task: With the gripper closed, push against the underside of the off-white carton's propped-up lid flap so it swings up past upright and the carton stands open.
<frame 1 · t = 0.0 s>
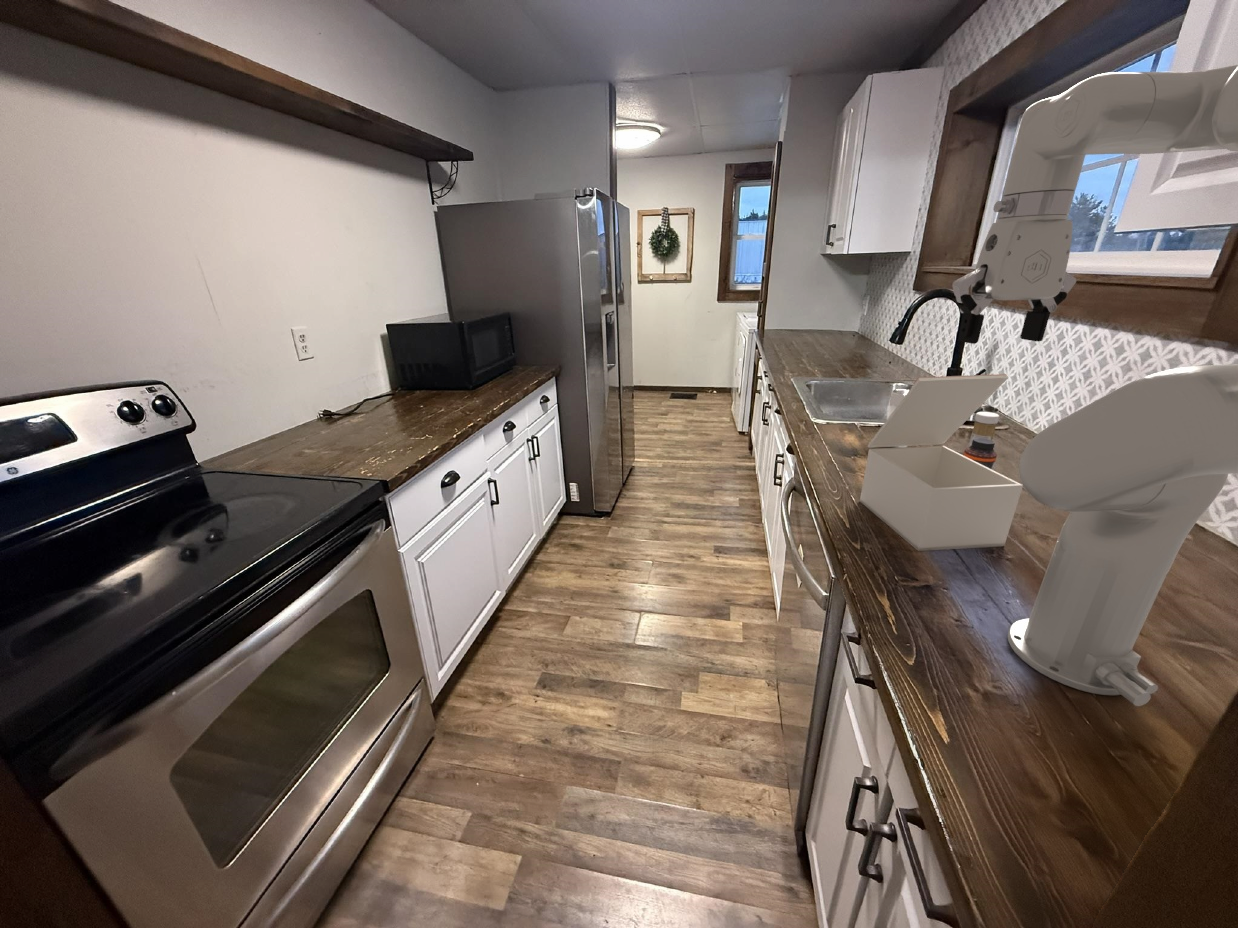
hand: (999, 341, 72), 37 cm above the worktop, tool pointing down, fingers open, 9 cm apart
supplement bottle: (970, 488, 111), on the worktop
sprinkles bottle: (973, 466, 123), on the worktop
carton: (925, 521, 97), on the worktop
beer glass: (895, 445, 138), on the worktop
lid flap: (931, 413, 94), point 21 cm above the worktop, hinge at 55.0°
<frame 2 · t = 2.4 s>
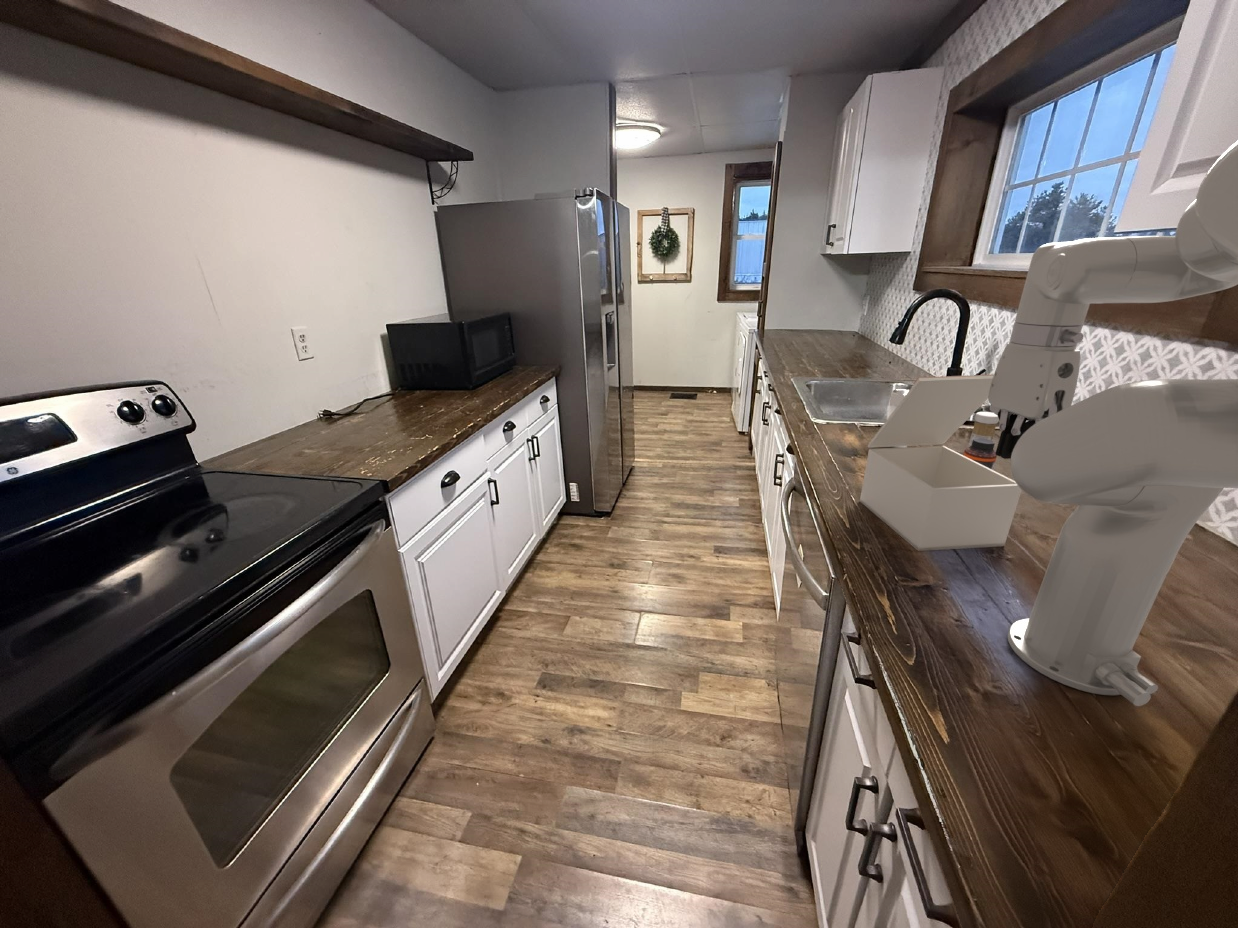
hand: (1008, 456, 77), 19 cm above the worktop, tool pointing down, fingers closed
nothing on the worktop moved.
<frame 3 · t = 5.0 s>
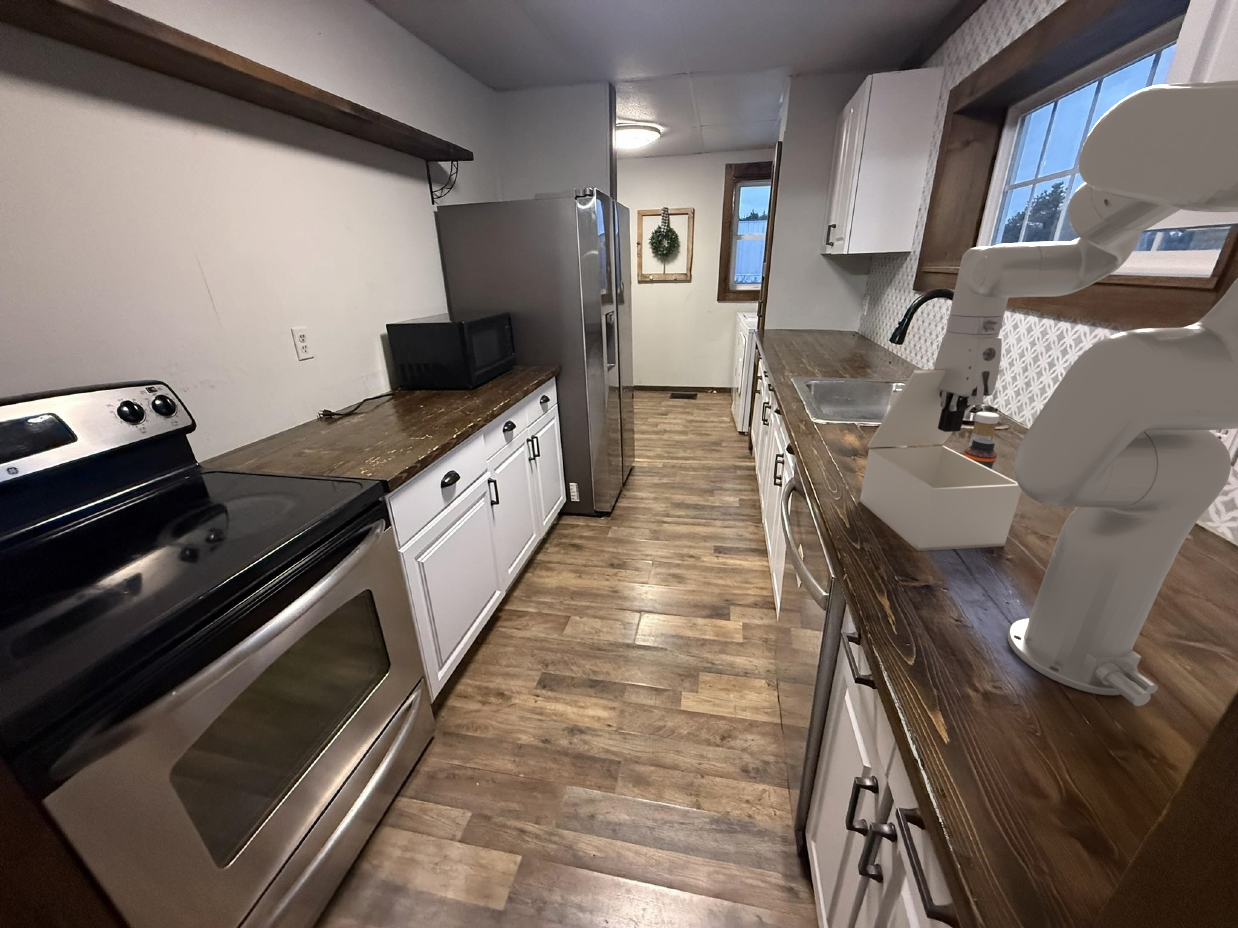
hand: (948, 430, 90), 19 cm above the worktop, tool pointing down, fingers closed
lid flap: (929, 410, 95), point 21 cm above the worktop, hinge at 60.6°, touching gripper
everything else where it was.
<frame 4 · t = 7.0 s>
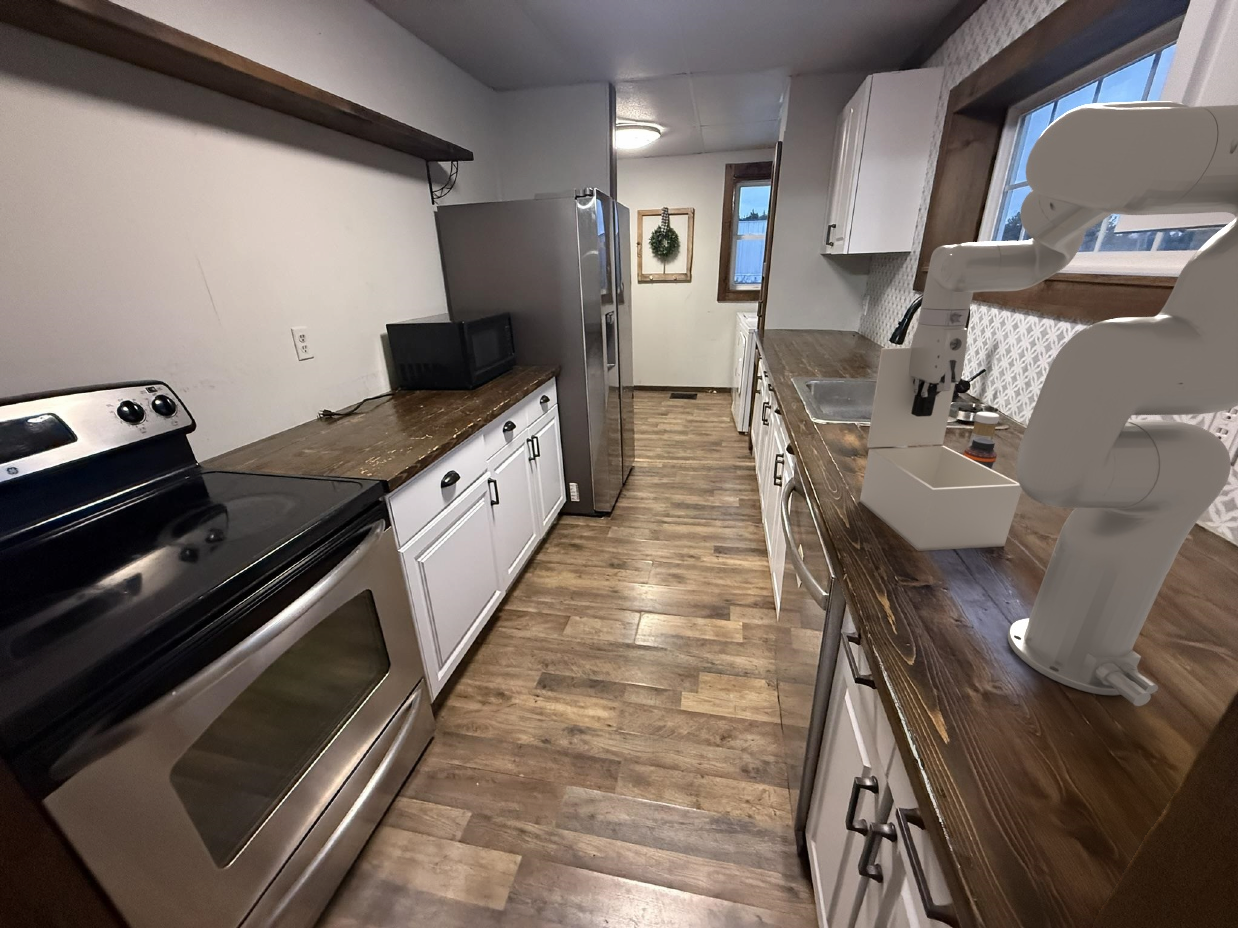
hand: (921, 415, 97), 20 cm above the worktop, tool pointing down, fingers closed
lid flap: (912, 397, 99), point 22 cm above the worktop, hinge at 92.7°, touching gripper
everything else where it was.
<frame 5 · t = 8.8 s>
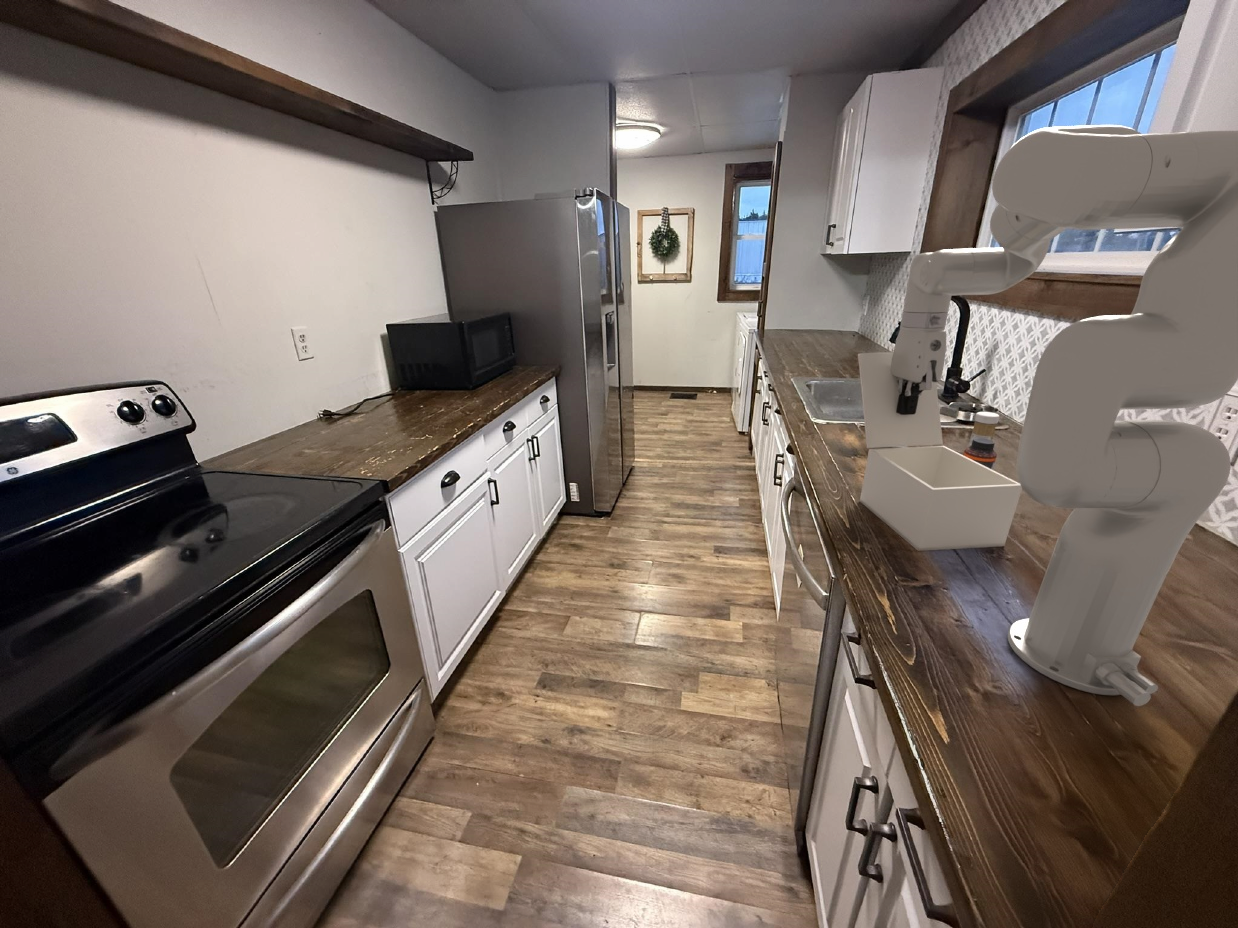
hand: (905, 413, 102), 19 cm above the worktop, tool pointing down, fingers closed
lid flap: (899, 399, 103), point 21 cm above the worktop, hinge at 117.0°, touching gripper
everything else where it was.
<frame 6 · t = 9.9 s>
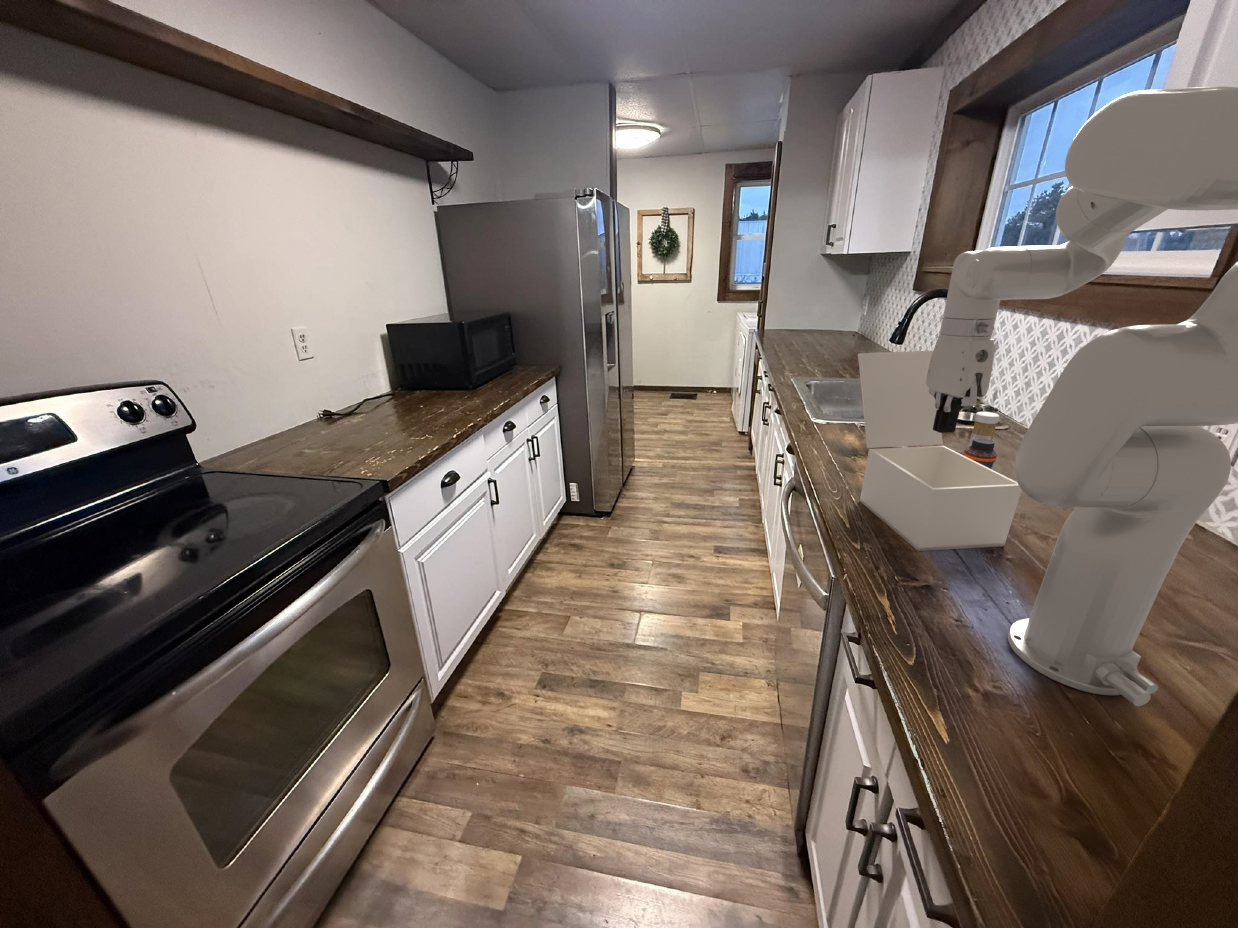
hand: (943, 431, 91), 19 cm above the worktop, tool pointing down, fingers closed
lid flap: (899, 399, 103), point 21 cm above the worktop, hinge at 117.0°
everything else where it was.
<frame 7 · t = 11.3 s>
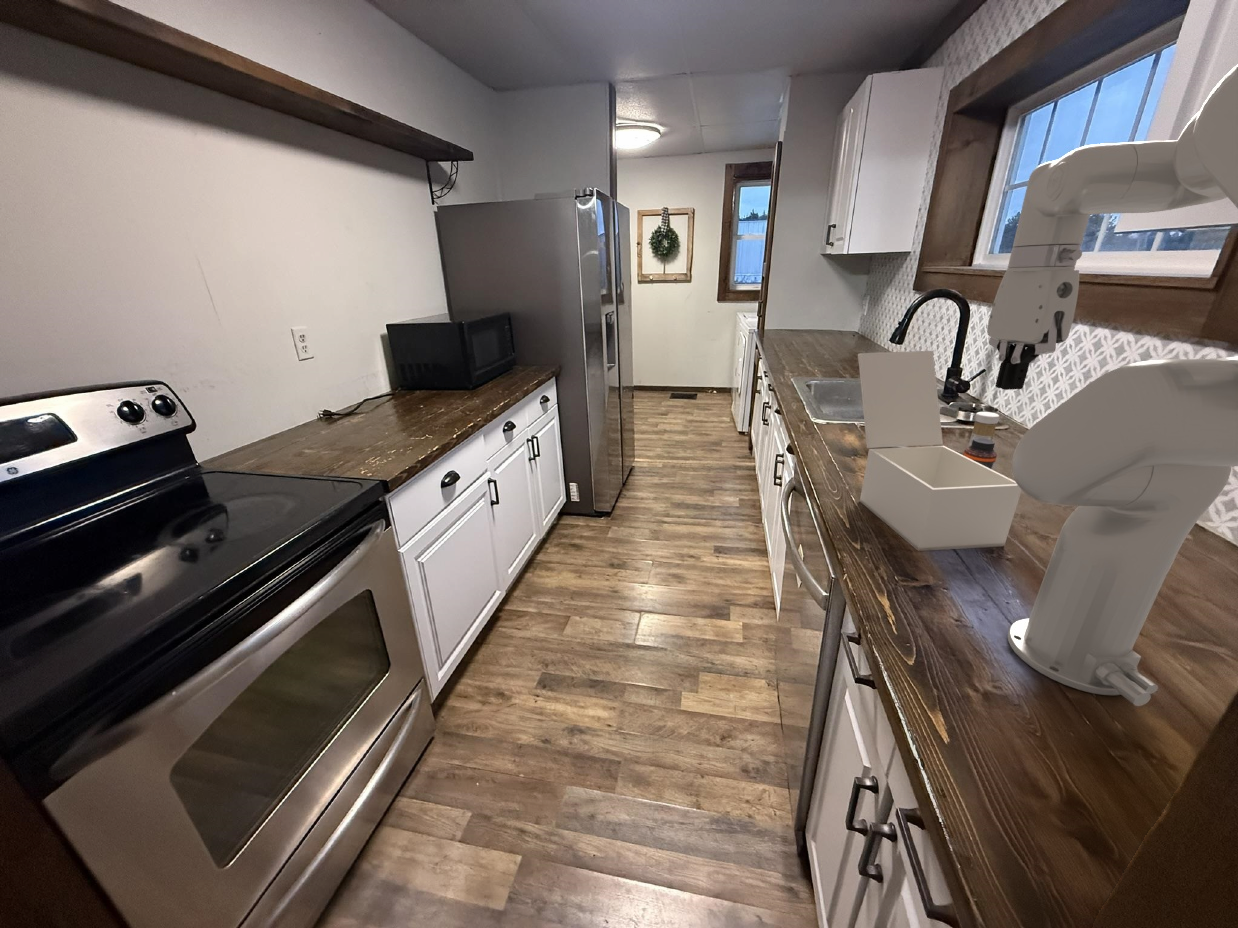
hand: (1008, 388, 76), 29 cm above the worktop, tool pointing down, fingers closed
nothing on the worktop moved.
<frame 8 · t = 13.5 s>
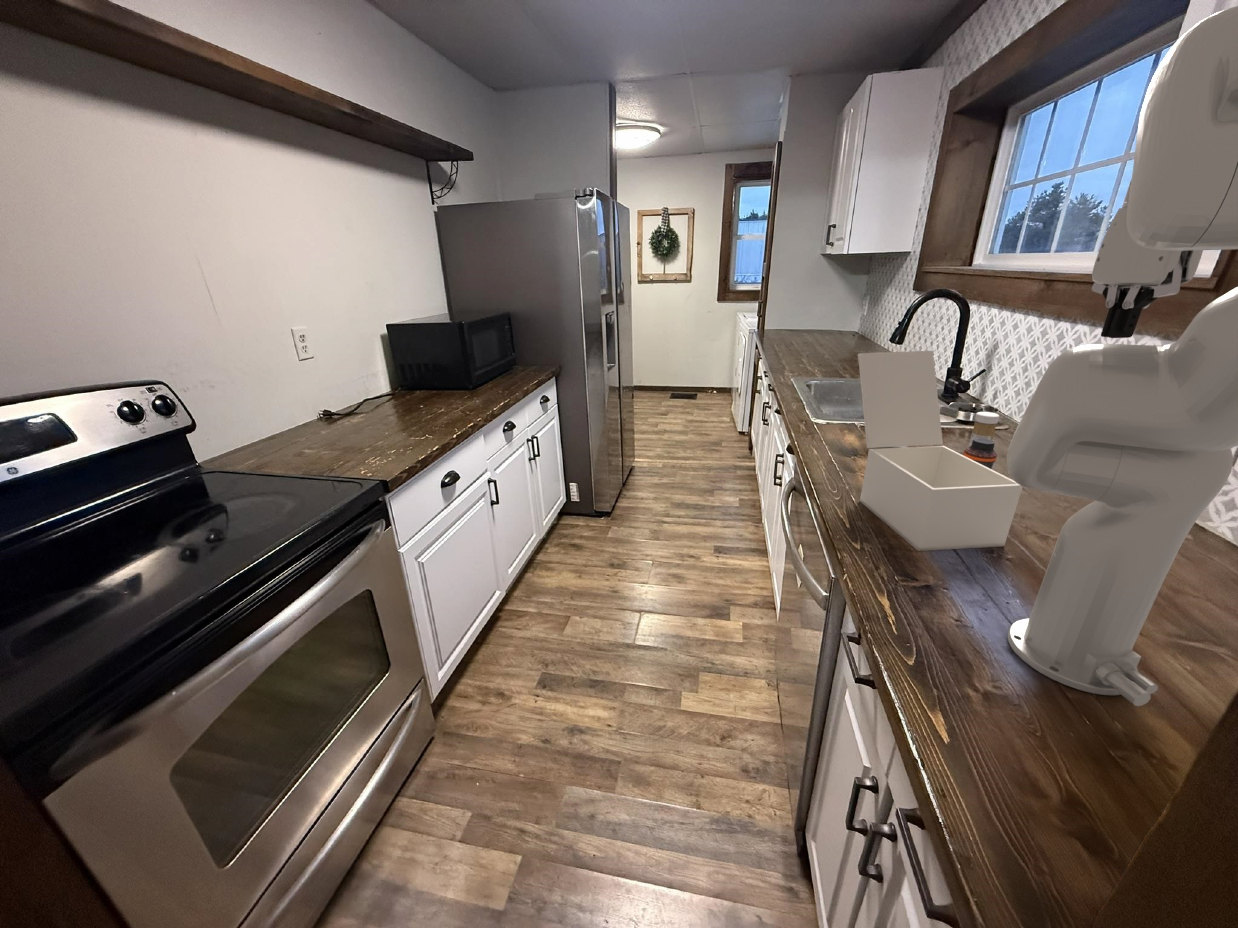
hand: (1115, 336, 71), 37 cm above the worktop, tool pointing down, fingers closed
nothing on the worktop moved.
at the end: lid flap at +117° (first picture: +55°); supplement bottle moved 0.2 cm from its start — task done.
